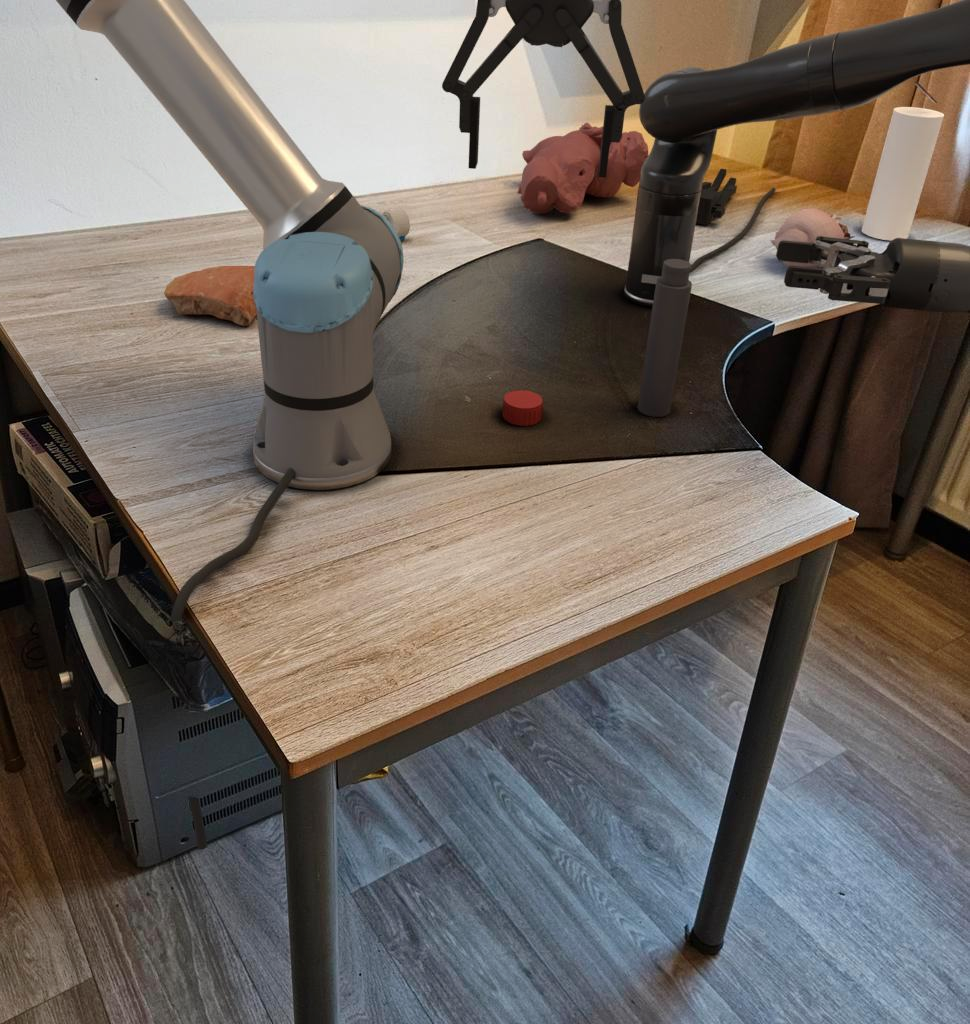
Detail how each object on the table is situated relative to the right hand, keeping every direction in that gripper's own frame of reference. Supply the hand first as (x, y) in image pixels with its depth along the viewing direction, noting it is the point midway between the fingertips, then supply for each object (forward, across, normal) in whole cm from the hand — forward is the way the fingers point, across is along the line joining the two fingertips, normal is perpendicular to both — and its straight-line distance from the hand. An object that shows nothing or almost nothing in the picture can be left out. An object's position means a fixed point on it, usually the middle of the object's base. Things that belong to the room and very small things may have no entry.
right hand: (781, 262), depth 108 cm
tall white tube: (-32, -83, +20) cm, 91 cm away
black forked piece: (0, -92, +20) cm, 95 cm away
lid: (+28, +6, +18) cm, 33 cm away
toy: (-14, -60, +20) cm, 65 cm away
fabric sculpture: (+27, -85, +20) cm, 91 cm away
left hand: (+28, +6, -9) cm, 30 cm away
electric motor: (+57, -54, +20) cm, 81 cm away
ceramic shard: (+75, -19, +20) cm, 80 cm away
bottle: (+12, 0, +20) cm, 23 cm away
